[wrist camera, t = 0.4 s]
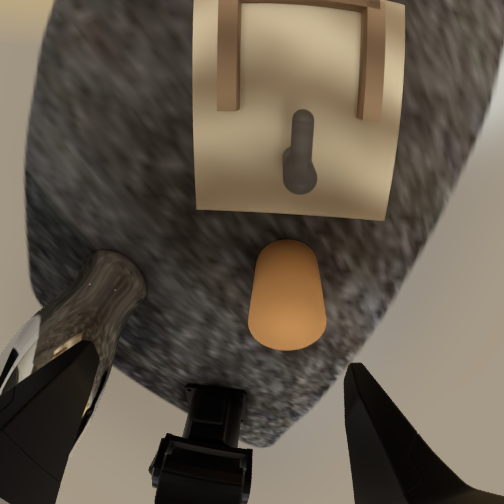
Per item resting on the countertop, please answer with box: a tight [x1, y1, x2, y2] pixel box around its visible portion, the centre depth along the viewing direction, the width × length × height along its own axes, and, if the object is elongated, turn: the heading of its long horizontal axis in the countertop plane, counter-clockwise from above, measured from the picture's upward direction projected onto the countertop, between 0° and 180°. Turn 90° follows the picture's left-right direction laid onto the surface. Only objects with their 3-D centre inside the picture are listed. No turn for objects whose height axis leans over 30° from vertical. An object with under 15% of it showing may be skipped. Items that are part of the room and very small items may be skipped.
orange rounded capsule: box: [248, 239, 326, 350], centre depth 20 cm, size 4×4×6 cm
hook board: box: [193, 0, 405, 221], centre depth 14 cm, size 14×12×5 cm
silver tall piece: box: [0, 250, 147, 459], centre depth 18 cm, size 7×7×15 cm
